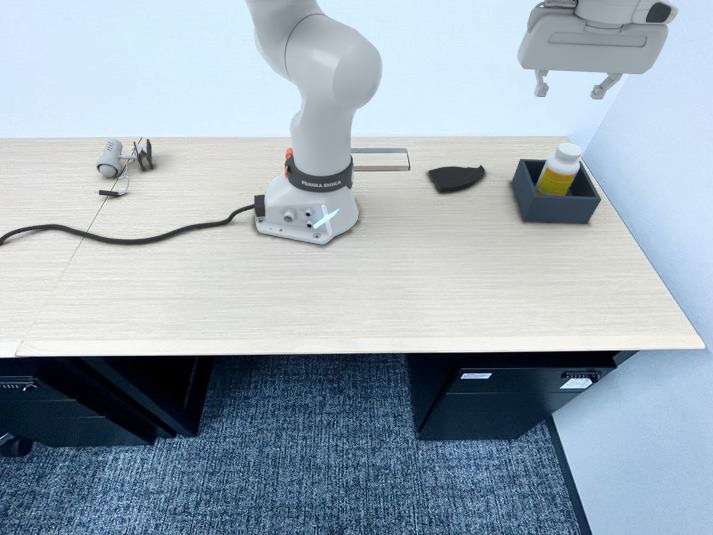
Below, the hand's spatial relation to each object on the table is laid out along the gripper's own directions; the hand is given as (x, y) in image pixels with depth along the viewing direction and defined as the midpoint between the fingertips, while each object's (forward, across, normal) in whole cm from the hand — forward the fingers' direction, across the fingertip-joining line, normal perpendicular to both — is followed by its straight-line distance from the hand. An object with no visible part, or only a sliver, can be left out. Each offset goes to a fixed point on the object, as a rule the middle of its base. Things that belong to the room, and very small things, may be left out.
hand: (567, 96), depth 67 cm
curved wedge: (+28, -11, +13) cm, 33 cm away
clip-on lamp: (+29, -91, +11) cm, 96 cm away
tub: (+27, +9, +6) cm, 29 cm away
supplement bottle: (+26, +8, +7) cm, 28 cm away
